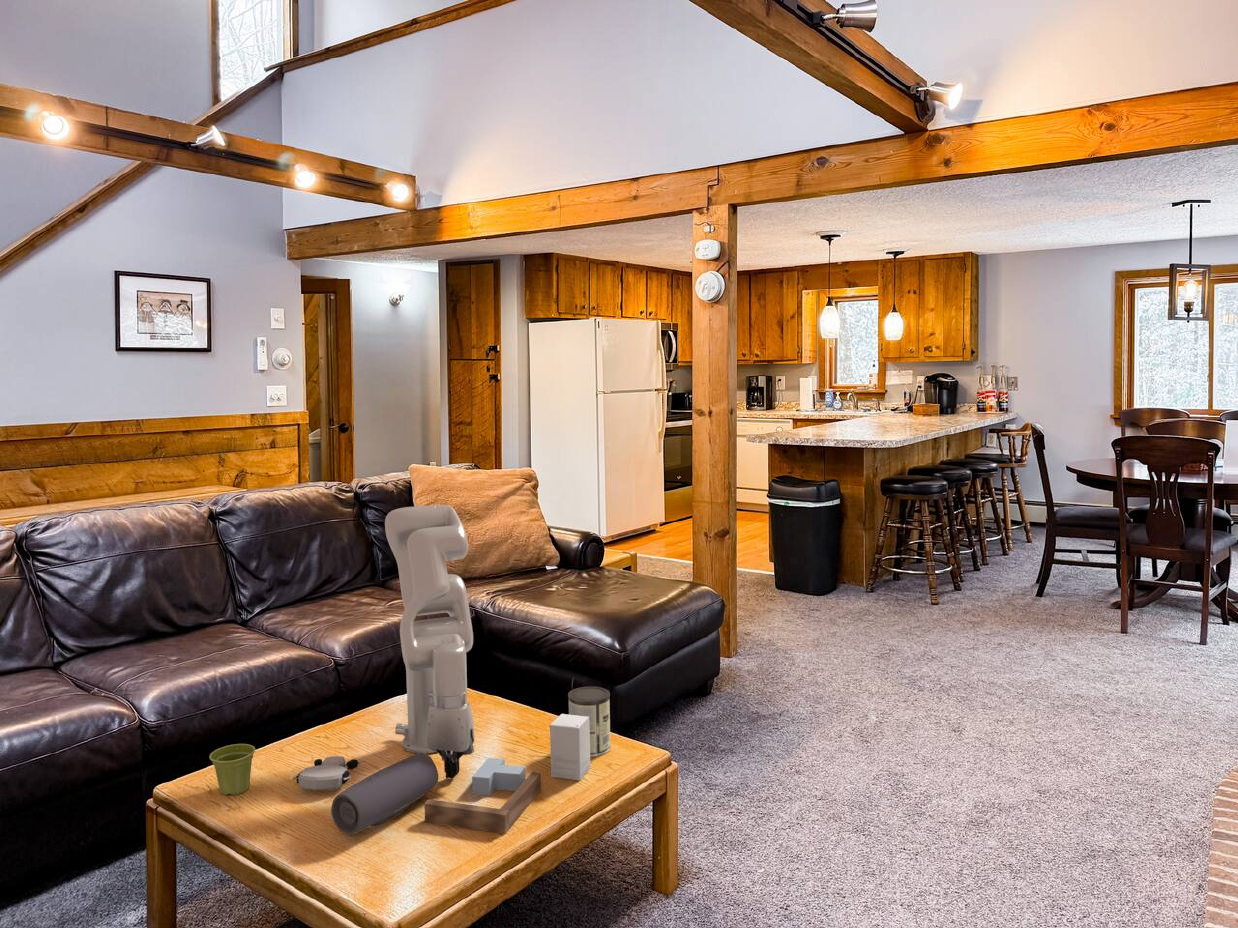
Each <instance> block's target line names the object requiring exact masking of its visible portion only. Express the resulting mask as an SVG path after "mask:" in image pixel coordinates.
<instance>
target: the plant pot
mask: <svg viewBox="0 0 1238 928" xmlns="http://www.w3.org/2000/svg"><path fill="white" fill-rule="evenodd" d="M255 752H256V748H255V746H253V745H251V744H247V743H237V744H236V743H235V744H230V745H229V744H228V745H225V746H223V747H220V748H217V749H214V751H212V752H211V753H210V754H209V761H211V763H212V765H213V766H214V770H215V775H216V779H217V783H218V787H219V792H220V794H221V795H224V796H226V795H233V796H234V795H238V794H242V793H244V792H245V791H247V790H248V789H249V788H250V785H251V784H250V783H251V774H252V773H251V772H252V761H253V759H254V754H255Z"/></svg>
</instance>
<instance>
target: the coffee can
mask: <svg viewBox="0 0 1238 928" xmlns="http://www.w3.org/2000/svg"><path fill="white" fill-rule="evenodd" d="M610 697H611V693H610V690H609V689H606V688H603V687H601V686H582V687H580V686H579V687H577V688H573V689H572V690H570V691H569V692H568V694H567V698H568V715H577V716H586V717H589V722H590V758H594V757H600V756H603V755H605V754H608V753H609V752H610V750H611V718H610V717H611V714H610V713H611V711H610V709H611V707H610V705H611V703H610Z"/></svg>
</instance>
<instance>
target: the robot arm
mask: <svg viewBox="0 0 1238 928" xmlns="http://www.w3.org/2000/svg"><path fill="white" fill-rule="evenodd" d="M384 527H385V528H384V529H385V536H386V540H387V541H388V545H389V547H390V550H391V553H393V556H394V558H395V560H396V564H397V569H398V577H399V578H398V579H399V584H400V585H399V586H400V591H401V592H400V593H401V599H402V604H403V609H404V611H403V612H402V616H401V619H400V625H399V636H400V638H399V639H400V646H401V652H402V658H403V663H404V665H405V671H406V672H405V673H406V676H405V677H406V695H407V696H406V697H407V698H406V702H407V706H406V707H407V724H405V723H402V722H401V723H396V725H395V731H394V732H395V735H398V736H399V735H400V736H403V737H404V738H403V739H402V742H401V745H402V748H403V749H404V751H407V752H409V753H412V754H418V753H424V754H433V753H438V754H439V756H440V757H441V760H442V761H443V764H444V765H443V766H444V769H443V772H444V773H445V778H446V779H451V780H453V779H455V777H457V776H458V774H459V773H460V758H462V756H468V755H469V756H470V755H472V754H473V753H474V752H475V748H474V743H475V726H474V718H473V712H472V707H471V704H470V702H468V678H467V676H468V675H467V671H468V669H467V653H469V651H471V650H472V648H473V644H474V632H473V625H472V618H471V611H470V605H469V600H468V599H469V598H468V592H467V589H466V585H465V582H464V580H463V579H462V577H460V576H459V575H458V574H454V573H452V574H451V573H449V572H448V568H447V561H456V560H462V559H465V557H466V556H467V555H468V551H469V541H468V536H467V532H466V530H465V527H464V525H463V522H462V521H461V519H460V517H459V516H458V513H457V512H456V510H455V508H453V506H452V505H448V504H434V505H420V506H419V505H418V506H405V507H400V508H399V507H398V508H396V509H393V510H391V511H390V512H388V513H387V515H386V516H385V519H384ZM444 613H446V614H448V615H449V616H446V617H444V616H443V617H438V618H437V617H435V618H428V619H421V620H415V618H416V616H427V615H435V614H444Z"/></svg>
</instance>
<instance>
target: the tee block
mask: <svg viewBox="0 0 1238 928" xmlns="http://www.w3.org/2000/svg"><path fill="white" fill-rule="evenodd" d="M505 761H506V760H505V758H494V757H487V759H485V761H484V762H483V763H482V764H481V766H479V768H478V769H477V770H476V771H475V773H474V774H473V775H472V776H471V781H472V782H471V783H472V785H471V787H472V788H471V789H472V795H478V796H479V795H480V796H491V795H492V794H493V792H494V791H496V790H498V791H508V792H509V791H510V792H515V791H516V790H517V789H518V788H519V787H520V785H521V784H522V783H523V782H524V781H525V780H526V779H527V776H526V773H527V772H526V766H525V765H524V766H523V765H509V764H506V762H505Z"/></svg>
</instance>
